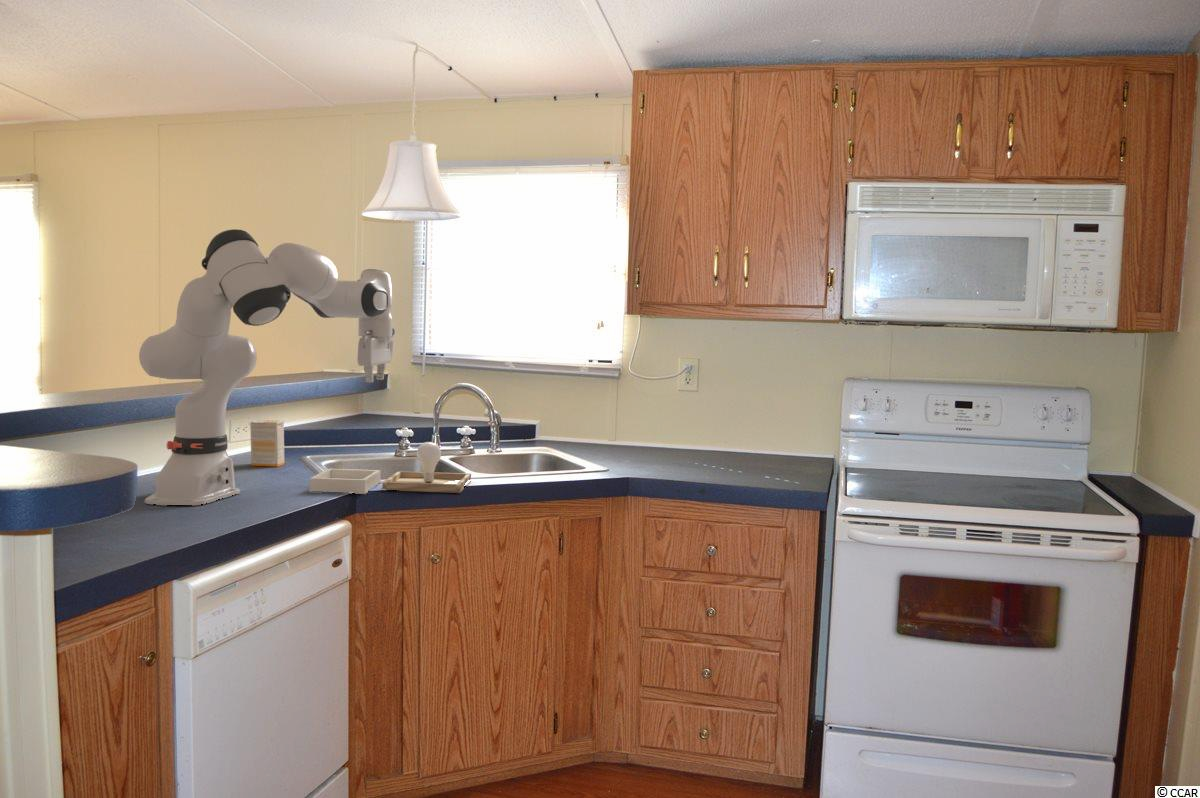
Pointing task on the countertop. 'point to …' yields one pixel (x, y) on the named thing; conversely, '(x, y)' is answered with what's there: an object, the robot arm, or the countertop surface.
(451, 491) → the tray
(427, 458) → the lightbulb
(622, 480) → the countertop surface
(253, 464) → the supplement box
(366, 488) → the shallow white dish
